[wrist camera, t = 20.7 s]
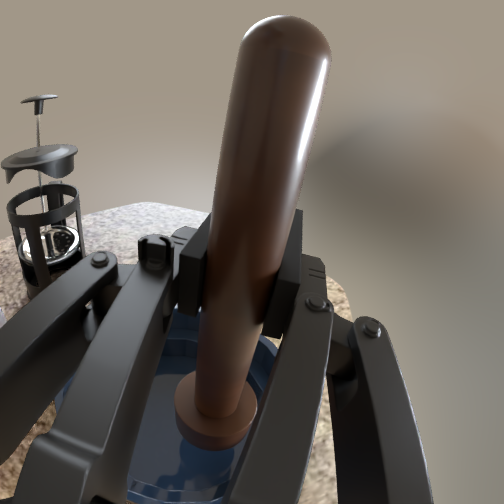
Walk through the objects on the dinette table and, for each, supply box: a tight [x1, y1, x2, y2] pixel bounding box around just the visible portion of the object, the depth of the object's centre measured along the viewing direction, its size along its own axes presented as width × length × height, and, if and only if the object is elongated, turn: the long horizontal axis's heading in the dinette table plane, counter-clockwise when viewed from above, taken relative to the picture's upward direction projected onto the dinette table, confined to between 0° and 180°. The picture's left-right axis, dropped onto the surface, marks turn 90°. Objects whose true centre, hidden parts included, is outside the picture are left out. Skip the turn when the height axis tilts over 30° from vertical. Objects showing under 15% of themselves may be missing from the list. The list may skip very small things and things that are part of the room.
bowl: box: [54, 304, 278, 504], centre depth 19 cm, size 17×17×6 cm
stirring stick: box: [174, 15, 331, 451], centre depth 11 cm, size 5×5×21 cm
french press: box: [1, 95, 86, 301], centre depth 25 cm, size 12×9×23 cm
